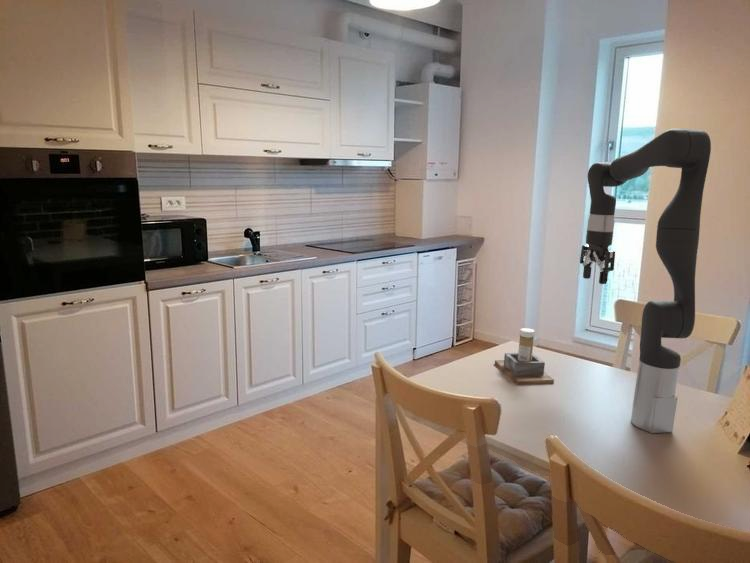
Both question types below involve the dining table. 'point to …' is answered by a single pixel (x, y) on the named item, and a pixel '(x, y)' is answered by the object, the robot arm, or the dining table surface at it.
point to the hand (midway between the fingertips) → (594, 281)
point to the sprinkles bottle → (526, 345)
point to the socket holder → (524, 370)
